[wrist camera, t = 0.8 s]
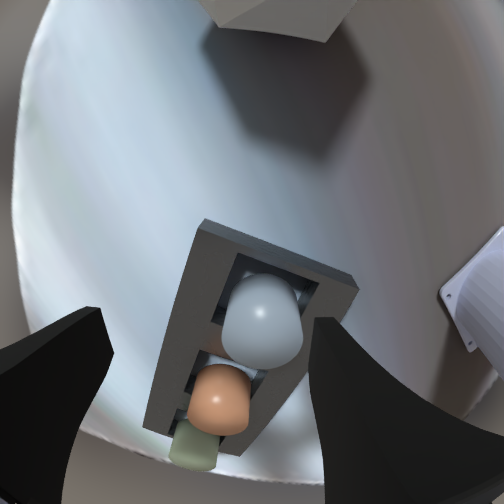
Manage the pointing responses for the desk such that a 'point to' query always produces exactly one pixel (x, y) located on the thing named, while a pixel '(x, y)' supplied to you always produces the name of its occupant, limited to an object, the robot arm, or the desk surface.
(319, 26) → the die
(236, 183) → the desk surface
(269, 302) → the slate button
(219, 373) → the orange rounded block
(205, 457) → the sage button
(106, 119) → the desk surface
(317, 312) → the button panel
